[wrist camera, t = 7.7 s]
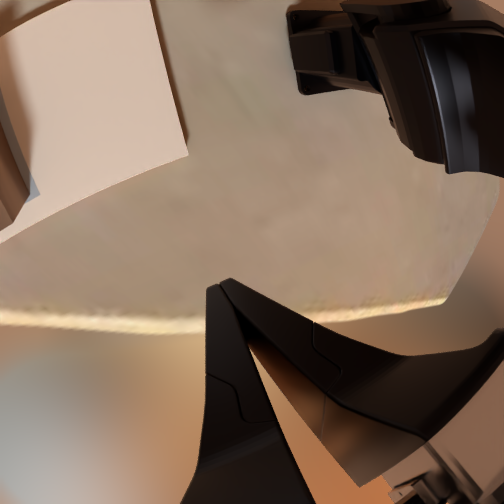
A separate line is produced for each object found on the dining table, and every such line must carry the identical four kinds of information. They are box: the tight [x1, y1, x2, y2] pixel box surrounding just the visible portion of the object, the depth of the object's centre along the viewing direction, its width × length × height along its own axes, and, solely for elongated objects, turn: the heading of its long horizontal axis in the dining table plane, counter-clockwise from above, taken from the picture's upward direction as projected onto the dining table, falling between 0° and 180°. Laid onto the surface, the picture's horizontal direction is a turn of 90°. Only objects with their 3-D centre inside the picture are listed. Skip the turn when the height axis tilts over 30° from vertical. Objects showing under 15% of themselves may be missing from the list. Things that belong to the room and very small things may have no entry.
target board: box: [0, 0, 189, 244], centre depth 12 cm, size 18×12×1 cm, turn 100°
